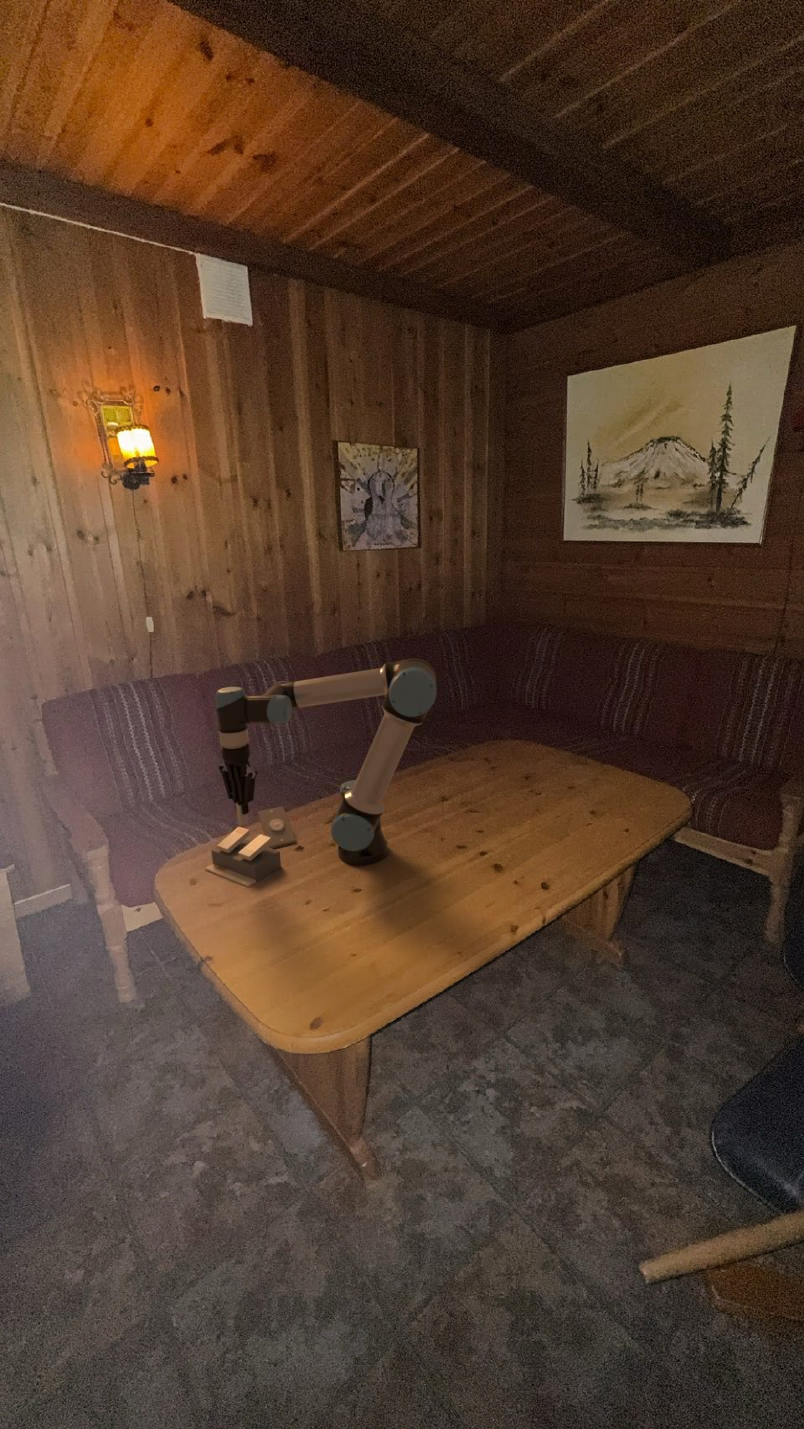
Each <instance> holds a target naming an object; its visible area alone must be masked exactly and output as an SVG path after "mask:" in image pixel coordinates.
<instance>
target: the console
mask: <svg viewBox="0 0 804 1429" xmlns="http://www.w3.org/2000/svg"><path fill="white" fill-rule="evenodd" d="M250 842H251V840H248V839H247V838H246V839H244V840H243V841H242V842H241V843H240V844H239V845H238V846H237V847H236V848H234V849H233V850H232V851H231V852H230V853H227V852H224V851H221V850H219V849H218V847H217V846H216V847H214V848H213V849H211V850H210V851H211V860H212V863H211V864H209V865H208V866H206V867H204V870H205V871H206V872H209V873H211V874H215V875H217V876H220V877H222V878H224V879H227V880H230V881H232V882H234V883H238V884H239V885H242V886H245V887H247V888H250V887H251V886H252V885H254V884H256V883H257V882H259V881H260V880H262V879H263V878H265V877H267V876H268V875H270V874H272V873H273V872H274V871H276V870H278V869H279V868H281V867H282V862H281V851H280V850H277V849H276V848H269V846H267V847H266V848H265V849H264V850H263V851H261V852H260V853H259V854H258V855H257V856H256V857H255V858H253V859H252V860H251V861H249V860H247V859H244V858H241V857H240V856H239V853H238V852H240V851H241V850H242V849H243V848H244V847H246V846H247V845H248V844H249V843H250Z"/></svg>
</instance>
